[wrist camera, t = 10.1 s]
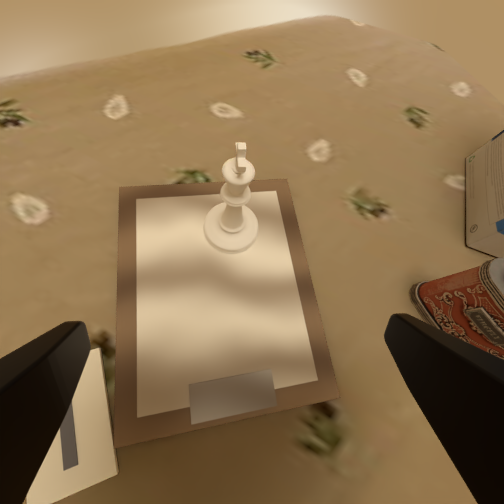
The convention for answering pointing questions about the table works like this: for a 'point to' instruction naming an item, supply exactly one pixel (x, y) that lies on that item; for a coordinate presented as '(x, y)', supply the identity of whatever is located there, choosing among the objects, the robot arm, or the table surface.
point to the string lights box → (486, 198)
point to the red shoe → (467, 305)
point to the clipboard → (212, 315)
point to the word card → (79, 441)
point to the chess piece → (233, 208)
